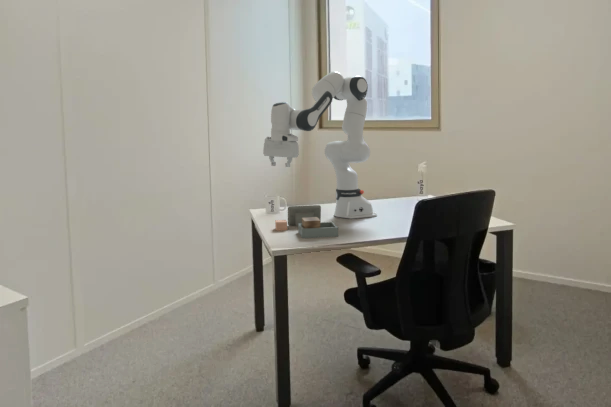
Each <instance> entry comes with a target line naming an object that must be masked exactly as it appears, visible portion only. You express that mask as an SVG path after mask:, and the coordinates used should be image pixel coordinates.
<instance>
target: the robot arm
mask: <svg viewBox="0 0 611 407" xmlns="http://www.w3.org/2000/svg"><path fill="white" fill-rule="evenodd" d="M368 86H369V85H368V82H367V79H366V78H365V77H364V76H360V75H355V76H347V77H343V75H342V74H341V73H340V72H338V71H330V72H329V73H328V74H326V75H324V76H323V77H321V78H320V79H319V80H318V81H317V82H315V84H314V86H313V87H312V89H311V95H312V98H313V100H314V101H315V102H314V103H313V104H312V106H310V107H309V108H305V109H295V107H292V106H291V105H290V104H289V102H285V101H281V102H275V103H274V104H273V105H272V107H271V111H270V112H271V113H270V123H271V129H270V130H271V131H270V136H266V138H265V139H264V143H263V150H262V152H263V155H264V156H265V157H268V159H269V161H270V165H271V167H276V165H277V164H276V161H275V157H277V158H286V160H287V162H285V163H284V164H285V168H290V167H291V163H292V161H293V159H295V158H297V157H298V156H299V152H300V150H299V149H300V148H299V142H298V141H299V137H298V136H297V135H294V134H292V133H291V132H290V131H291V130H292V131H305V132H311V131H313V130H315V128H316V126H317V124H318V122H319V120H320V118H321V117H322V116H323V115H324V113H325V112H326V111H327V110H328V108H329V107H330V106H331V104H332V102H333V99H334V100H336V101H345V100H346V109H345V111H344V115H343V120H342V124H341V130H342V131H343V133H344V134H346V135H347V140H333V141H329V142H328V143H327V144H326V145H325V147H324V155H325V157H326V159H327V160H328V161H329V162H330V163H331V165H332V167H333V169H334V171H335V177H336V188H335V200H336V202H335V203H336V204H335V209H334V210H335V211H334V213H333V216H334V217H336V218H346V219H360V218H371V217H377V216H378V213H377V212H376V211H375V210H373V205H372V203H371V201H369V200H368V199H367V198H365V197H364V196H363V195H364V193H365V191H364V190H363V189H360V188H359V175H358V173H357V171H356V170H354V169H353V168H352V167H351V165H350V163H351V164H360V163H365V162H367V161H368V160H369V158H370V155H371V149H370V146H369V145H368V144H367V142H366V141H365V139H364V127H365V122H366V118H367V109H368V108H367V106H368V103H367V101H368V100H367V99H366V96H367V94H368Z"/></svg>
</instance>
